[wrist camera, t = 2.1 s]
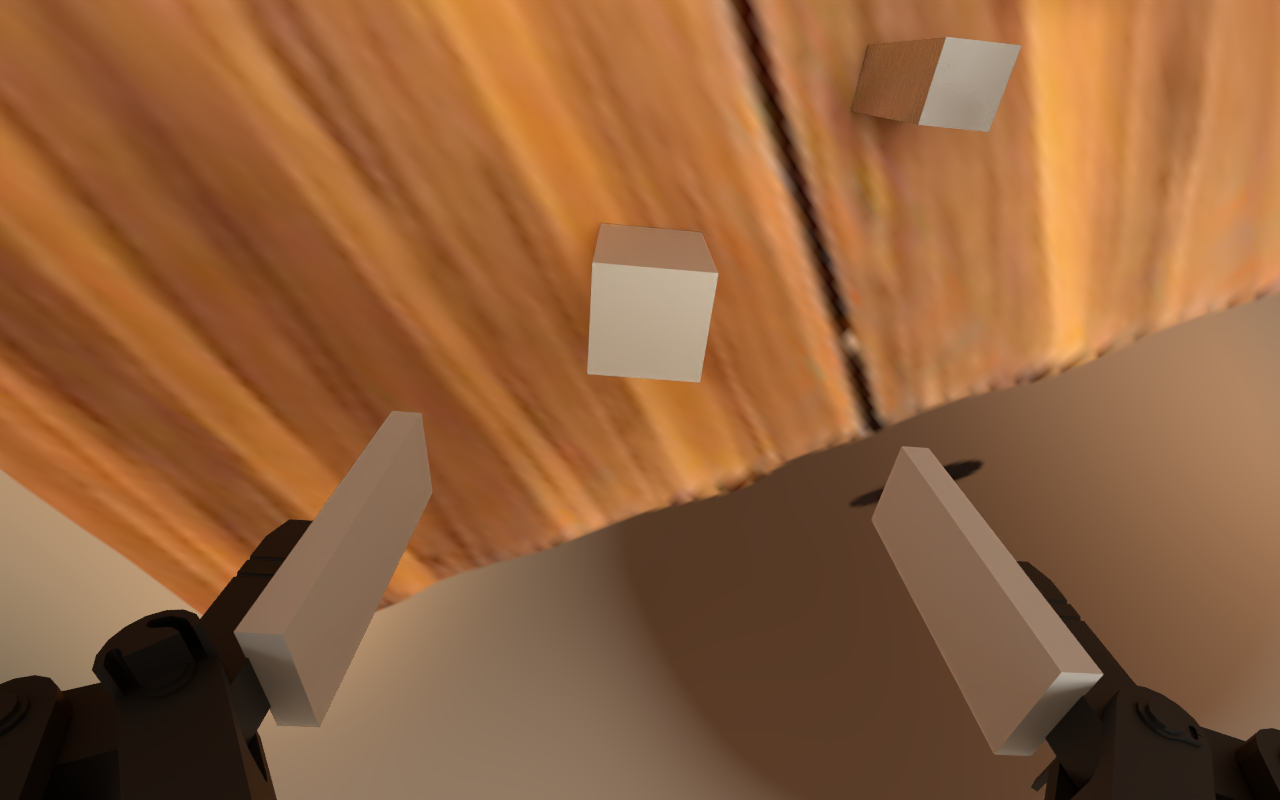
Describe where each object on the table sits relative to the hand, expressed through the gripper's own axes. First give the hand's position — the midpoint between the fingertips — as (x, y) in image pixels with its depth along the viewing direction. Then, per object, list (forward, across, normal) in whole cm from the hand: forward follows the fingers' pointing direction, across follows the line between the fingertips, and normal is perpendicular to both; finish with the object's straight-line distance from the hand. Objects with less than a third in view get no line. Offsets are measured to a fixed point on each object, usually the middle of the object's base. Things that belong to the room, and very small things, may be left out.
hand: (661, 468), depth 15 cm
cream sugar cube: (+16, 0, 0) cm, 17 cm away
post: (+16, +10, +10) cm, 22 cm away
